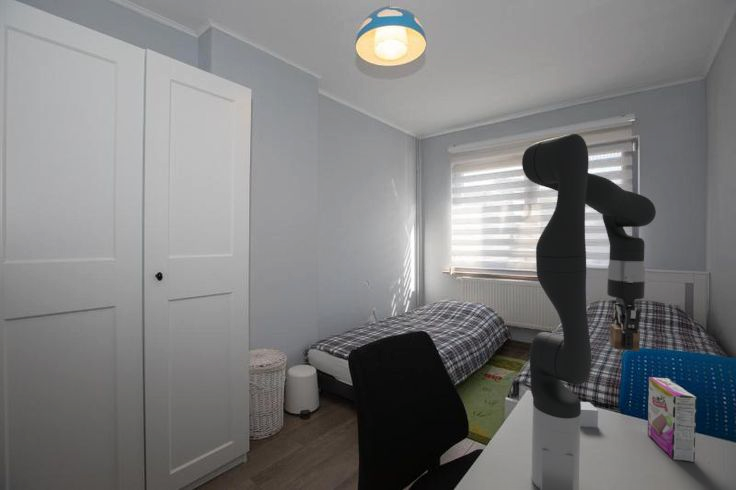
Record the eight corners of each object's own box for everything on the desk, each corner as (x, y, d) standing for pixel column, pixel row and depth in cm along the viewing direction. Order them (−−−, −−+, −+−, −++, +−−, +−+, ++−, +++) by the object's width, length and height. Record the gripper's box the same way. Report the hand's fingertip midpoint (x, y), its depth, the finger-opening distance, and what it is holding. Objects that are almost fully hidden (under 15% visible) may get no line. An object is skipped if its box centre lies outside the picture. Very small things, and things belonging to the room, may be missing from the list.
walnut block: (639, 351, 85) (639, 331, 85) (614, 348, 87) (615, 328, 87) (632, 345, 90) (633, 326, 90) (609, 342, 92) (610, 324, 92)
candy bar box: (645, 434, 97) (647, 376, 96) (666, 436, 96) (668, 377, 95) (672, 460, 86) (674, 394, 85) (695, 463, 85) (698, 396, 84)
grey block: (597, 427, 100) (598, 410, 100) (579, 426, 101) (579, 409, 101) (589, 418, 105) (589, 402, 105) (571, 417, 106) (571, 401, 106)
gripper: (601, 274, 96) (599, 335, 97) (615, 281, 83) (613, 352, 83) (634, 275, 93) (632, 339, 94) (655, 283, 80) (652, 356, 81)
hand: (623, 344), depth 89 cm, fingers closed on walnut block, 5 cm apart
